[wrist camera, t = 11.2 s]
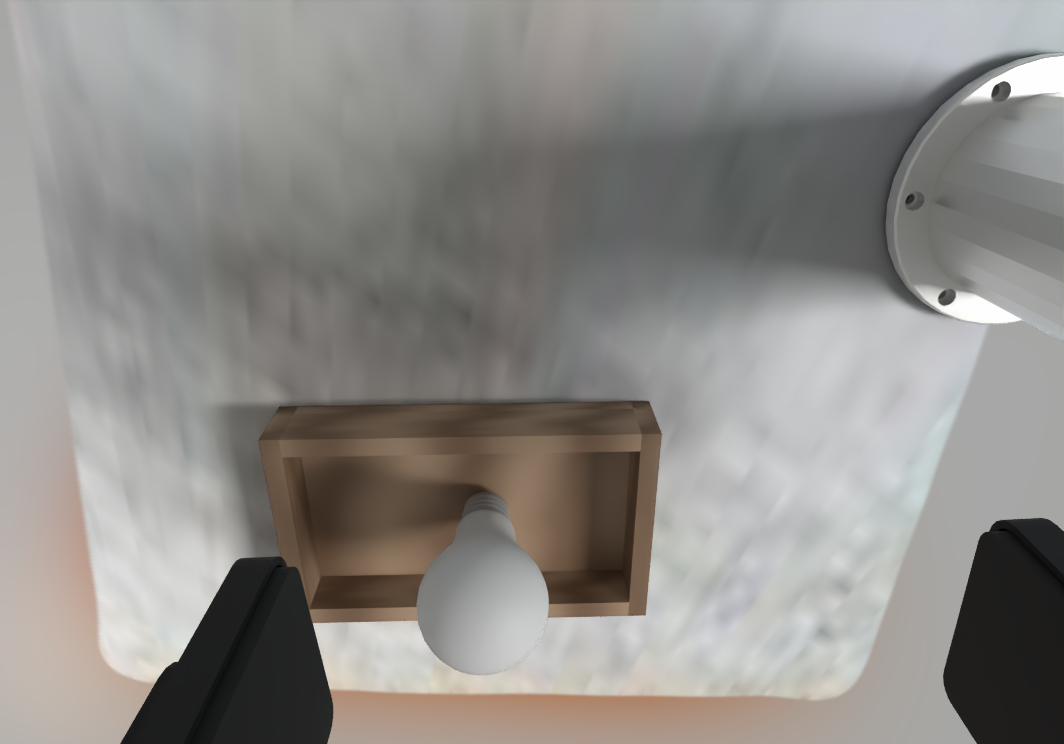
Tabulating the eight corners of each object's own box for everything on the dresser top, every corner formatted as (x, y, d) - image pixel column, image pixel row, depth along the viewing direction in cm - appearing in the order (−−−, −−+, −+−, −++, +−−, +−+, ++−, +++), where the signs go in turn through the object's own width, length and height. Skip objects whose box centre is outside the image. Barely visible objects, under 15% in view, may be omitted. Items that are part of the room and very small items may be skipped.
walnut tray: (649, 401, 38) (661, 433, 35) (635, 573, 43) (645, 615, 40) (279, 407, 38) (258, 440, 35) (309, 580, 43) (293, 623, 40)
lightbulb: (561, 505, 40) (581, 659, 30) (481, 561, 42) (475, 725, 32) (491, 436, 38) (488, 577, 28) (409, 497, 39) (378, 652, 30)
